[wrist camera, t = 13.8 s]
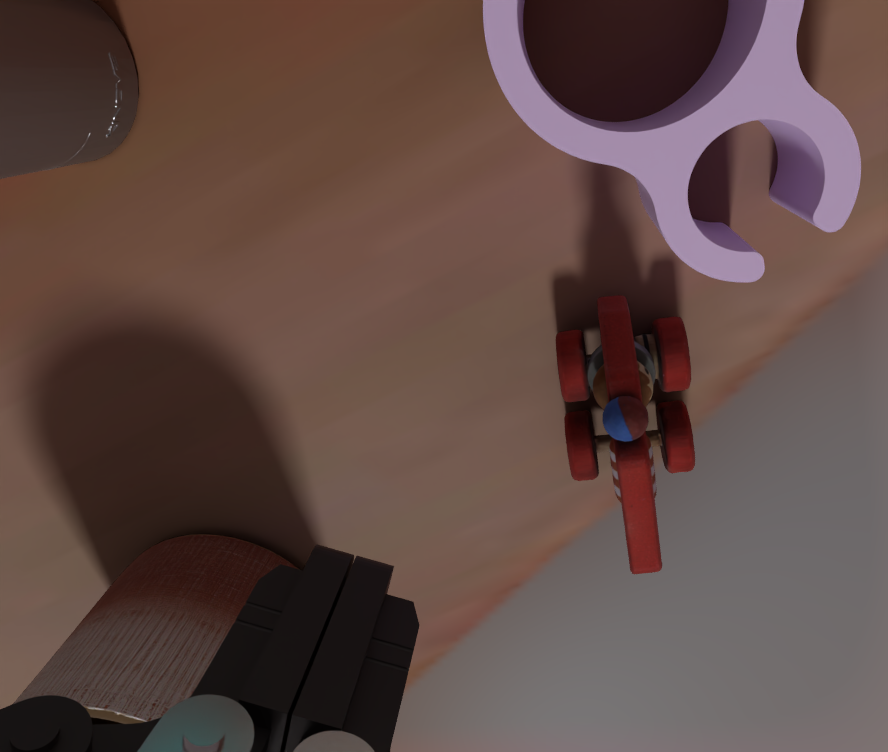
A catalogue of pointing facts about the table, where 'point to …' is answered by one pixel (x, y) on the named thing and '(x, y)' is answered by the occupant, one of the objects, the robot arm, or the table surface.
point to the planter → (156, 628)
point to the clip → (704, 130)
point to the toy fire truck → (628, 414)
